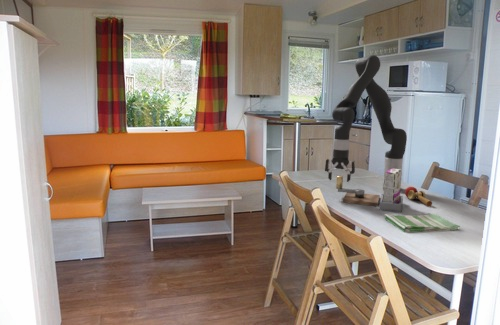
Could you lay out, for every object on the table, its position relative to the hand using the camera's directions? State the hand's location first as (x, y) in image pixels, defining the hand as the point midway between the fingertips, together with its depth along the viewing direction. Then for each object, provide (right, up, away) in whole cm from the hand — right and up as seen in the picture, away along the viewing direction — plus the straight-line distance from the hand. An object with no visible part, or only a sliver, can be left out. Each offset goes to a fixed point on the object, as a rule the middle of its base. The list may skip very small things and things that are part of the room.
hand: (339, 180), depth 200 cm
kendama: (+38, -10, -3) cm, 40 cm away
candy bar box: (+21, -11, -13) cm, 27 cm away
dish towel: (+25, -17, -37) cm, 47 cm away
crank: (+5, -7, -1) cm, 9 cm away
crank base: (+10, -9, -2) cm, 14 cm away
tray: (+21, -11, -13) cm, 27 cm away
